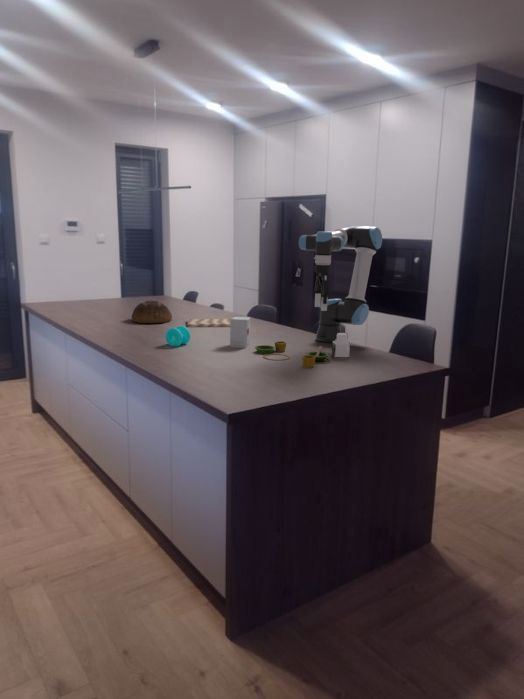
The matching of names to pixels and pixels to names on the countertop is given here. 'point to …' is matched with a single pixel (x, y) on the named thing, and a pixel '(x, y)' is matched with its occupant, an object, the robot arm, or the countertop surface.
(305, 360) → the tableware set
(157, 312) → the bread
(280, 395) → the countertop surface
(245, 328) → the supplement box
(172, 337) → the donuts
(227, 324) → the cutting board
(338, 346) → the medicine bottle
